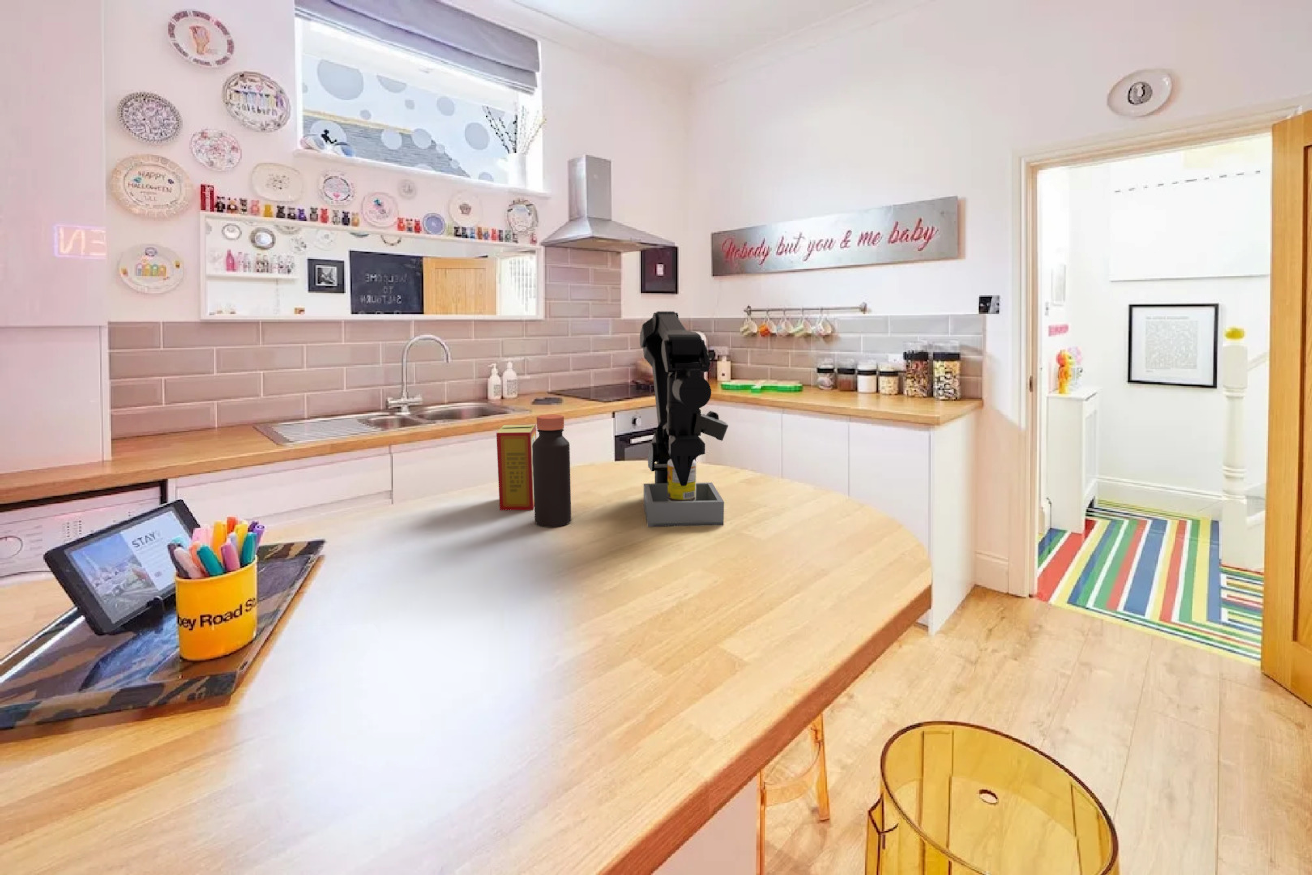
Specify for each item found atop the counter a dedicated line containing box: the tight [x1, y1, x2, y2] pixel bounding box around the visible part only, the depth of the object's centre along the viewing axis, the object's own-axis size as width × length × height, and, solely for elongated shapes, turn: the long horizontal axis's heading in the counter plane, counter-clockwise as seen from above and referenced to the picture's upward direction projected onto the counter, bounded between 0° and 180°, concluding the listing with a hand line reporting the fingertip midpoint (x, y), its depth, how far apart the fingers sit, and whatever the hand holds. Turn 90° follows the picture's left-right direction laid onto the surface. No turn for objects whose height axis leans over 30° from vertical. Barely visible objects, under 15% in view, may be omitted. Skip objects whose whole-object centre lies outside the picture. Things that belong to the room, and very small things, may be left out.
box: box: [643, 482, 725, 528], centre depth 126 cm, size 14×14×4 cm
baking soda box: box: [495, 423, 537, 511], centre depth 133 cm, size 10×6×16 cm
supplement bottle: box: [667, 459, 697, 501], centre depth 126 cm, size 6×6×10 cm
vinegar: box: [532, 414, 572, 528], centre depth 120 cm, size 7×7×20 cm
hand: (681, 481), depth 126 cm, fingers closed on supplement bottle, 6 cm apart
